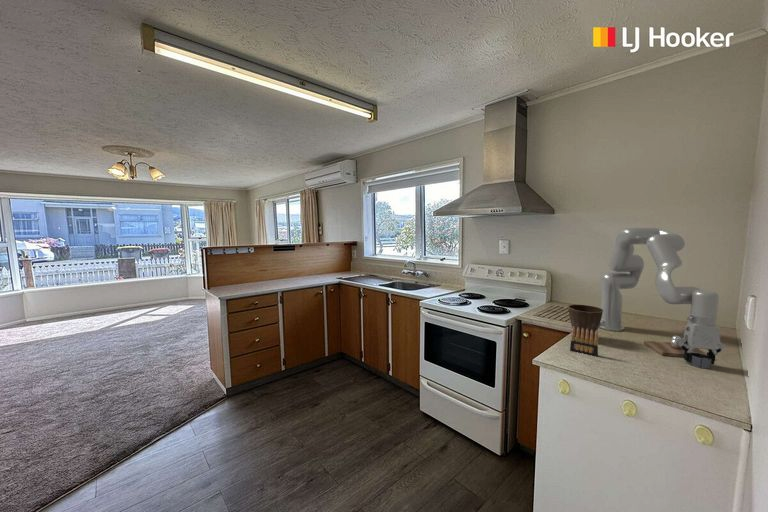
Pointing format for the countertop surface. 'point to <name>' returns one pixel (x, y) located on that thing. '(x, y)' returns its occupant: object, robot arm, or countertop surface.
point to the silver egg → (673, 342)
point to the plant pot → (585, 318)
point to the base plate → (668, 349)
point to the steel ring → (701, 360)
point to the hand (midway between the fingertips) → (698, 361)
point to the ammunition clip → (585, 345)
